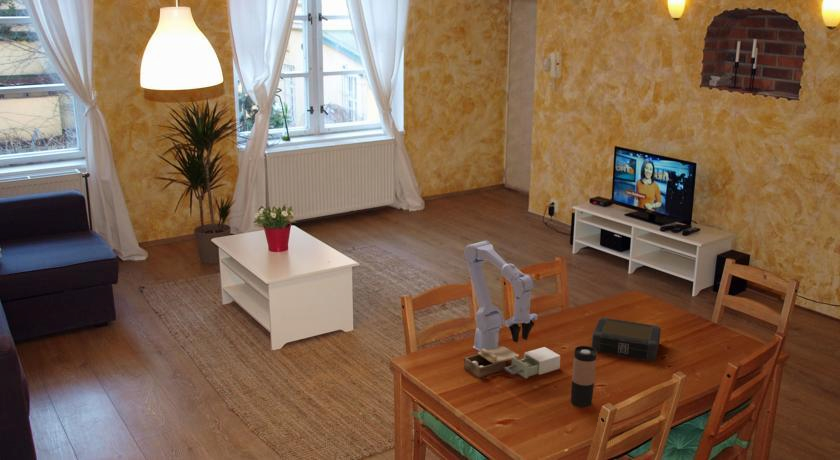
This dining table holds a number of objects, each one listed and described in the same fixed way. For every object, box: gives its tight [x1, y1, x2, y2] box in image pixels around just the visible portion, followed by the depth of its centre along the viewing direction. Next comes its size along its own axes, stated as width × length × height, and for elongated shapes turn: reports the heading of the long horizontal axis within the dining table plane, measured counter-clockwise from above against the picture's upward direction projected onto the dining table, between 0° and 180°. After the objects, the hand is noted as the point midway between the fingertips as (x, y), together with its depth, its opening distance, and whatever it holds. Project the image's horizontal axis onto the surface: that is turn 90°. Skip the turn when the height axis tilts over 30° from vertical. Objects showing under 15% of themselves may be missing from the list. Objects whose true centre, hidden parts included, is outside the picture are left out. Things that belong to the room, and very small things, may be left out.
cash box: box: [591, 317, 662, 362], centre depth 330 cm, size 25×20×8 cm
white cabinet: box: [523, 346, 561, 375], centre depth 308 cm, size 9×10×6 cm
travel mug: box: [570, 345, 598, 409], centre depth 283 cm, size 8×8×20 cm
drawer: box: [503, 357, 539, 379], centre depth 304 cm, size 9×15×6 cm, turn 123°
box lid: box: [477, 345, 520, 364], centre depth 309 cm, size 10×12×2 cm
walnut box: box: [463, 353, 507, 379], centre depth 307 cm, size 10×12×5 cm
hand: (519, 340), depth 310 cm, fingers open, 4 cm apart
